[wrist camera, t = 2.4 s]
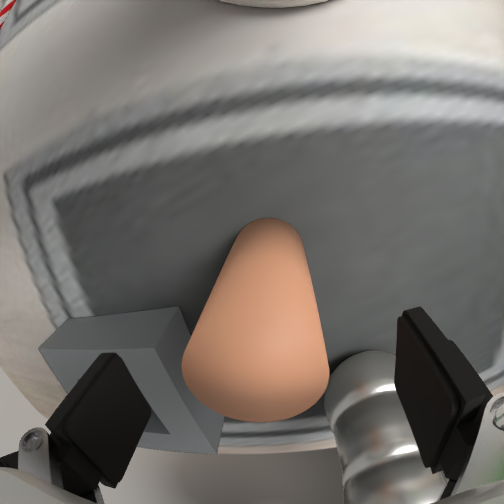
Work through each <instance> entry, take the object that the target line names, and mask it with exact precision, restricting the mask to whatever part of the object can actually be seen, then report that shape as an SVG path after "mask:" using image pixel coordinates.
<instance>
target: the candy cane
mask: <svg viewBox="0 0 504 504" xmlns="http://www.w3.org/2000/svg"><path fill="white" fill-rule="evenodd" d="M15 1H16V0H7V1H6V3H5V5H4V7H3V9H2V10H1V12H0V28H1V27H2V25H3V23H4V21H5V19H6V17H7V16H8V14H9V12H10V10H11V8H12V6H13V4H14V3H15Z"/></svg>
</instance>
